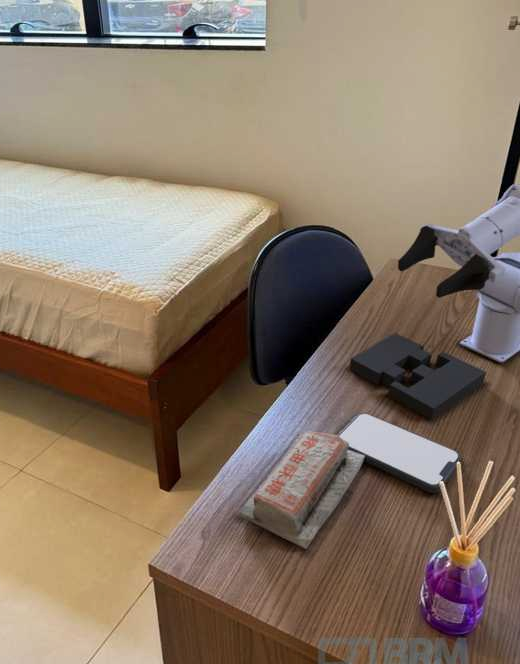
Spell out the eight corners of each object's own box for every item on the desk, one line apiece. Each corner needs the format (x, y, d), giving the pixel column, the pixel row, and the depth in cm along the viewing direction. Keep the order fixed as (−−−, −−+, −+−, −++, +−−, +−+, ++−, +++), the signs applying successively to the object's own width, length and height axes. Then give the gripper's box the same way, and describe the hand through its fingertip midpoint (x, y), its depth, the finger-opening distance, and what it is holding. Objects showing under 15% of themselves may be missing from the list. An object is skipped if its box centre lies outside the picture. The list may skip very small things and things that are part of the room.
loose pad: (393, 343, 111) (395, 332, 110) (433, 363, 106) (435, 351, 104) (349, 369, 106) (350, 358, 104) (388, 391, 100) (390, 380, 99)
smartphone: (330, 448, 90) (436, 499, 80) (330, 440, 89) (438, 490, 80) (360, 417, 95) (463, 461, 86) (361, 409, 95) (465, 453, 85)
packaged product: (309, 526, 72) (237, 492, 77) (307, 553, 75) (238, 518, 80) (367, 438, 84) (302, 413, 89) (365, 463, 87) (301, 438, 92)
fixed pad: (440, 362, 106) (442, 351, 104) (483, 383, 100) (486, 371, 99) (388, 396, 99) (390, 384, 98) (431, 420, 93) (433, 408, 92)
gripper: (451, 193, 95) (384, 235, 92) (532, 236, 86) (459, 285, 83) (447, 227, 100) (383, 268, 98) (523, 272, 91) (454, 319, 88)
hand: (418, 278), depth 91 cm, fingers open, 7 cm apart
